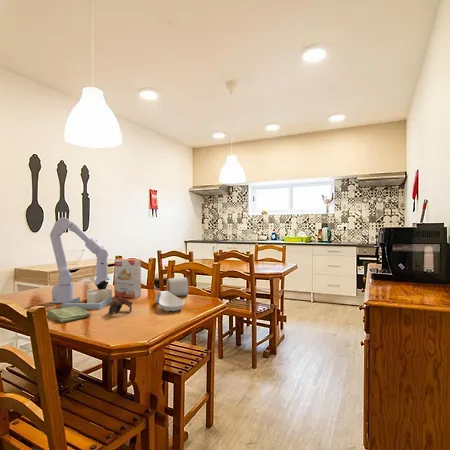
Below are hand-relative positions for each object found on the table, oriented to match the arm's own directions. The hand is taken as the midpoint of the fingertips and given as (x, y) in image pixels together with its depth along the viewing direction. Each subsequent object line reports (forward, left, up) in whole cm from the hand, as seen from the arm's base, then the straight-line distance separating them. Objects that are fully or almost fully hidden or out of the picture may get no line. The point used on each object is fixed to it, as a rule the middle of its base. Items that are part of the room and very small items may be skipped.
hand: (102, 295), depth 174 cm
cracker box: (+13, +4, -2) cm, 14 cm away
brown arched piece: (+21, -32, -2) cm, 38 cm away
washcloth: (+1, -37, -2) cm, 37 cm away
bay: (0, -17, -1) cm, 17 cm away
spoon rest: (+41, -22, -2) cm, 46 cm away
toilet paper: (+41, +5, -2) cm, 41 cm away
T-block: (0, -8, -1) cm, 8 cm away
